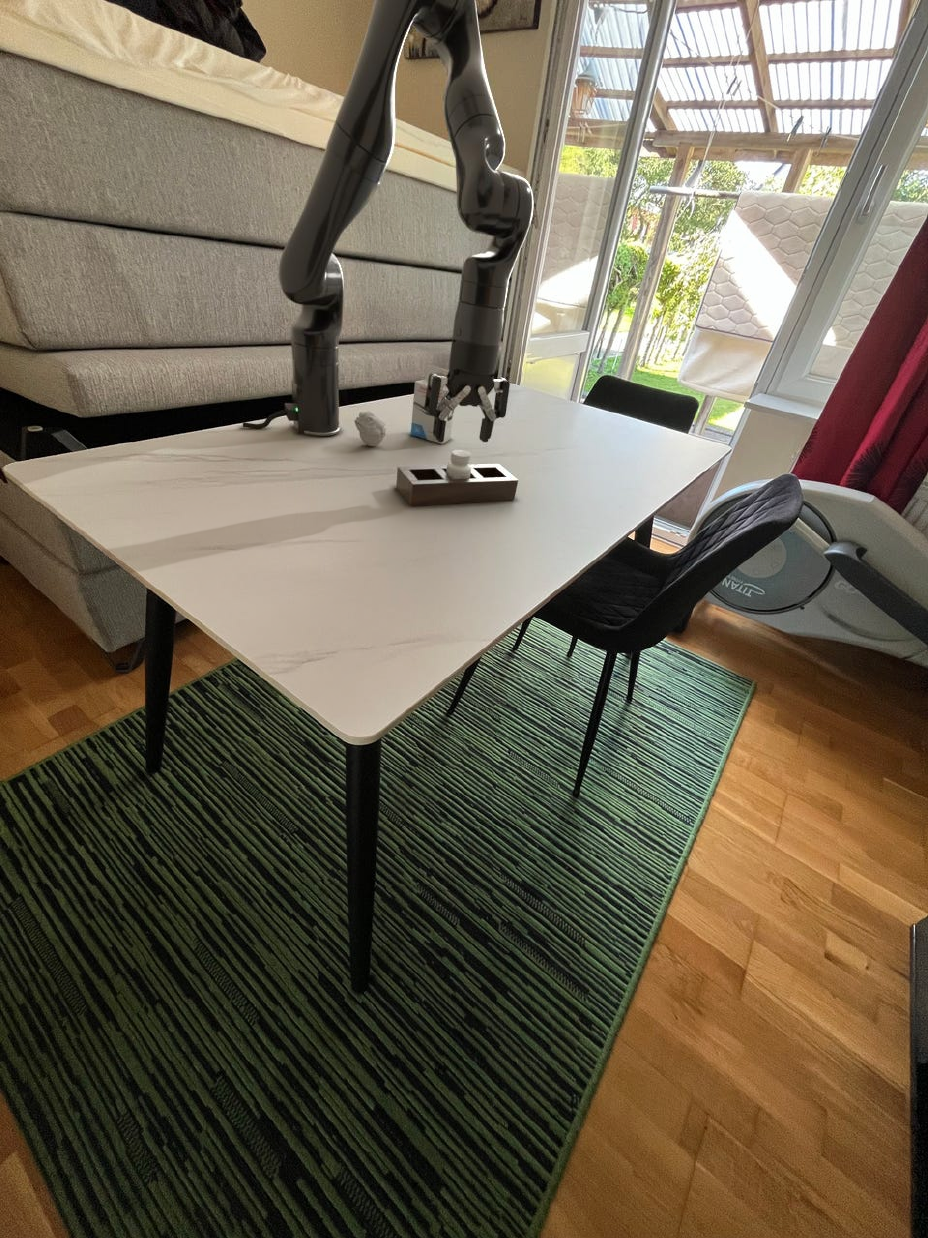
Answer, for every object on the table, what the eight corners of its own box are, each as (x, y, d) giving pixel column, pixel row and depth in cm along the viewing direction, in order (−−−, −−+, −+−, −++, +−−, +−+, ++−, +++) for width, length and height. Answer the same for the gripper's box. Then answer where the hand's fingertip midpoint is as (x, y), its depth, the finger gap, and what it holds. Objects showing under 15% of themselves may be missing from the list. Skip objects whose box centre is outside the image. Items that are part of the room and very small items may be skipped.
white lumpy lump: (348, 442, 110) (348, 408, 106) (375, 439, 114) (376, 406, 110) (363, 452, 107) (364, 417, 103) (391, 448, 111) (393, 415, 107)
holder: (514, 500, 98) (518, 480, 95) (410, 506, 89) (412, 484, 87) (495, 483, 103) (498, 463, 101) (396, 487, 95) (397, 466, 92)
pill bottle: (468, 491, 98) (474, 451, 93) (465, 500, 94) (472, 458, 90) (445, 487, 98) (450, 446, 93) (442, 496, 94) (447, 454, 90)
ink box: (409, 435, 120) (414, 366, 111) (419, 430, 124) (425, 363, 115) (442, 444, 118) (449, 375, 109) (451, 439, 121) (459, 372, 113)
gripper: (505, 336, 86) (488, 433, 96) (425, 328, 80) (416, 432, 90) (527, 346, 81) (506, 448, 91) (443, 338, 75) (431, 448, 85)
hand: (461, 440), depth 90 cm, fingers open, 8 cm apart
